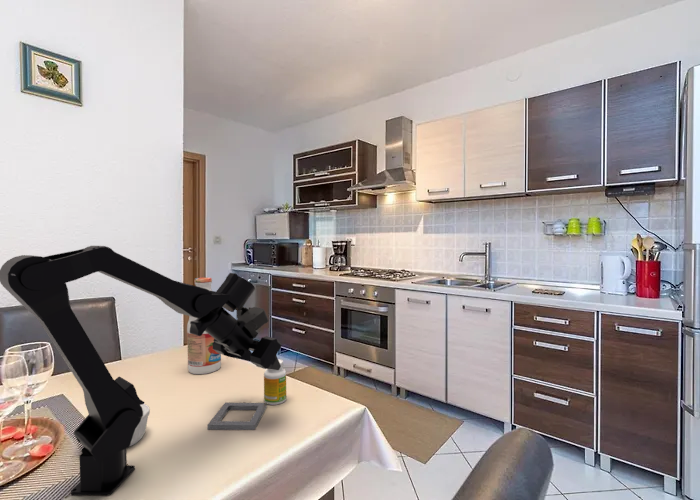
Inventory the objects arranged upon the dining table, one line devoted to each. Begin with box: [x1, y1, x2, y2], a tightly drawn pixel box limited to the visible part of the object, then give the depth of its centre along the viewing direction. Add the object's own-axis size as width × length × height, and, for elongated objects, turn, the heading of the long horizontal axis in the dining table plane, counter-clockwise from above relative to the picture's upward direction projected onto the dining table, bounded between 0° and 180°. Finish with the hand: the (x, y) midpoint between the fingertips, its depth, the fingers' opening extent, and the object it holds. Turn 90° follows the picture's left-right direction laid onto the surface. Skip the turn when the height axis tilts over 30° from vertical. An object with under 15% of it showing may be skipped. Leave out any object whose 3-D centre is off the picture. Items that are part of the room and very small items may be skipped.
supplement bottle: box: [263, 358, 287, 406], centre depth 87 cm, size 5×5×10 cm
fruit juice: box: [186, 277, 222, 375], centre depth 108 cm, size 9×9×28 cm
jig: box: [206, 402, 268, 431], centre depth 79 cm, size 10×10×1 cm
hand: (266, 363), depth 85 cm, fingers open, 9 cm apart
